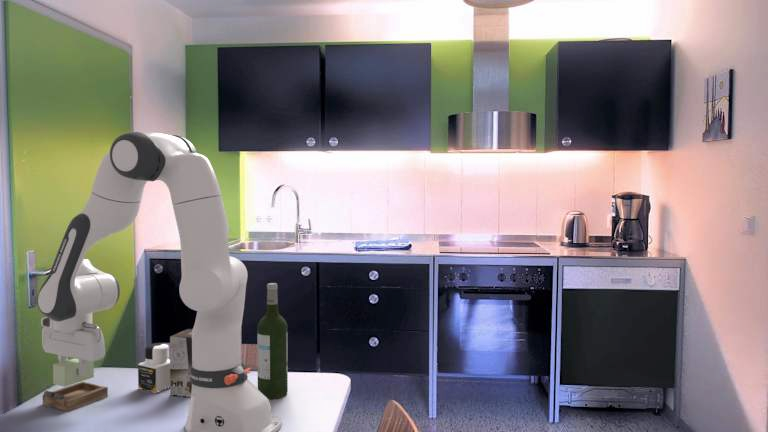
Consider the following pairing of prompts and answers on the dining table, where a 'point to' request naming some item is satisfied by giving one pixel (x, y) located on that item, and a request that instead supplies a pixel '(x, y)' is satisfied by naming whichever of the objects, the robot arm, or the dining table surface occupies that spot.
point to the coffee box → (181, 363)
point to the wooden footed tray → (74, 396)
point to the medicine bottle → (155, 368)
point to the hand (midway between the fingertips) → (73, 373)
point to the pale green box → (70, 372)
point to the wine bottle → (272, 349)
